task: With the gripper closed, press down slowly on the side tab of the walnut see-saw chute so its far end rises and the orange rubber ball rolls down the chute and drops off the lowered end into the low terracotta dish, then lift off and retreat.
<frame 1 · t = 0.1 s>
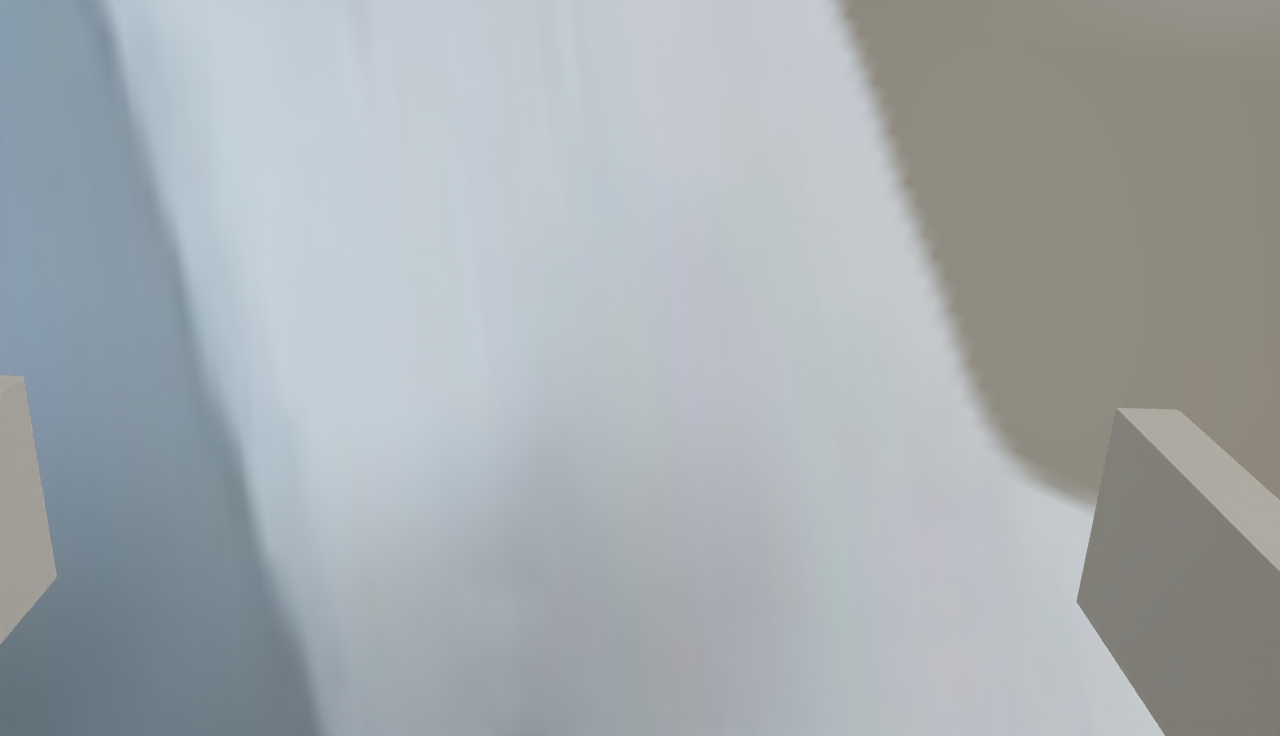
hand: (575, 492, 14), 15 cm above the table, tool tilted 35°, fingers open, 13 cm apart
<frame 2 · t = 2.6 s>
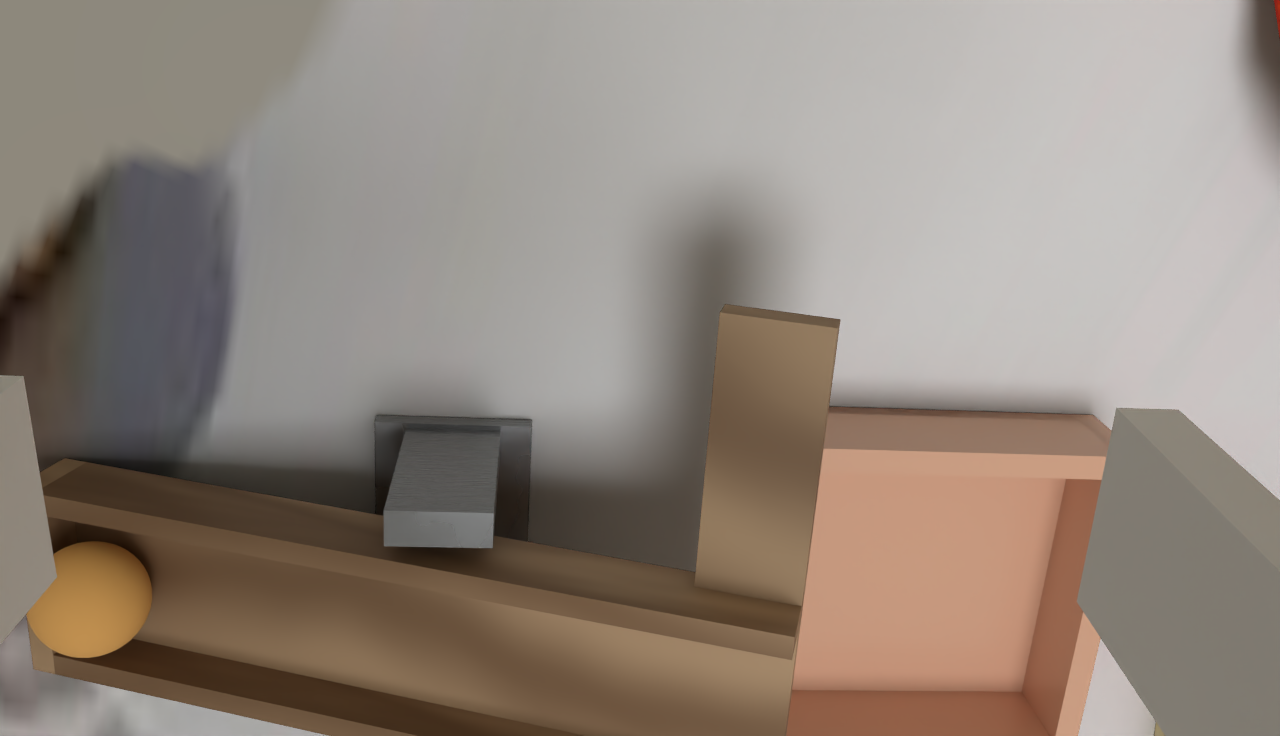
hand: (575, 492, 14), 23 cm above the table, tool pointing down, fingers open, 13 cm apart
lever: (398, 511, 34), point 5 cm above the table, hinge at -18.4°, touching ball
stand: (453, 552, 40), on the table
ball: (90, 598, 36), point 3 cm above the table, tilted 16°, touching lever
dish: (904, 561, 41), on the table
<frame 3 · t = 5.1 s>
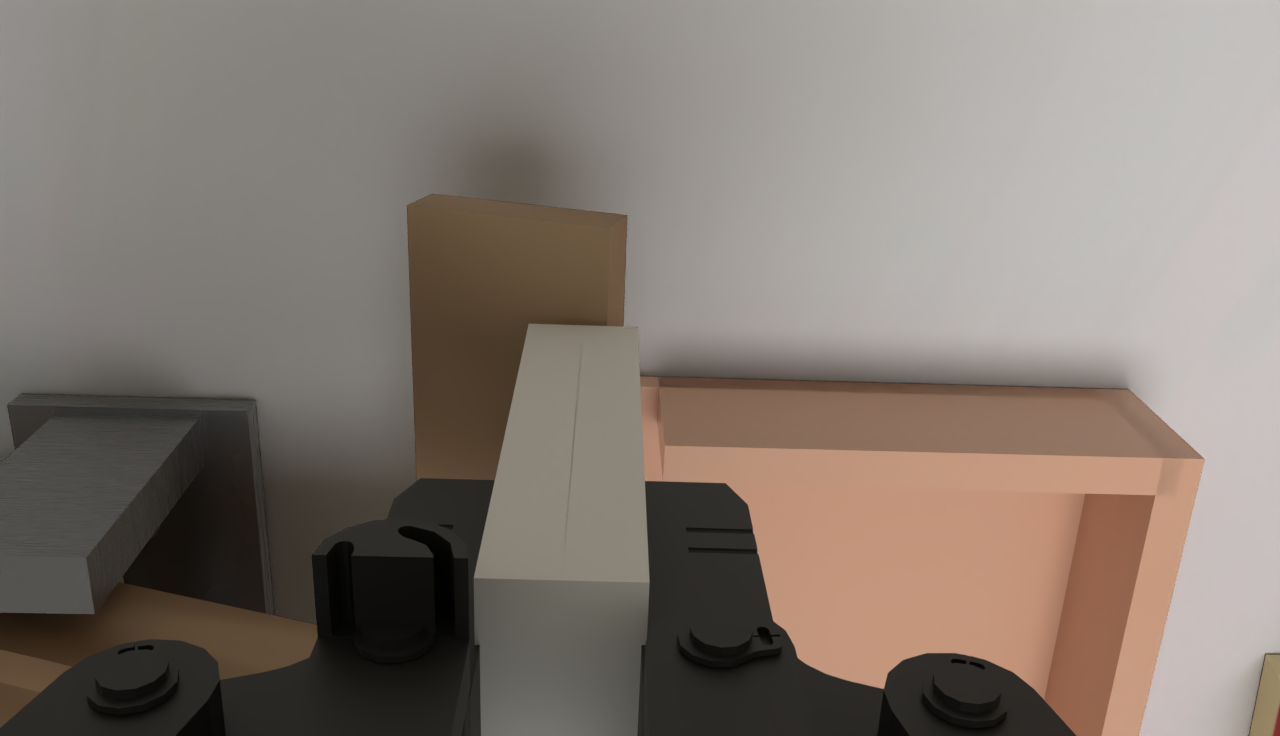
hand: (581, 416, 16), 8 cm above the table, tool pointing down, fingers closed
stand: (164, 595, 27), on the table
dish: (841, 609, 28), on the table
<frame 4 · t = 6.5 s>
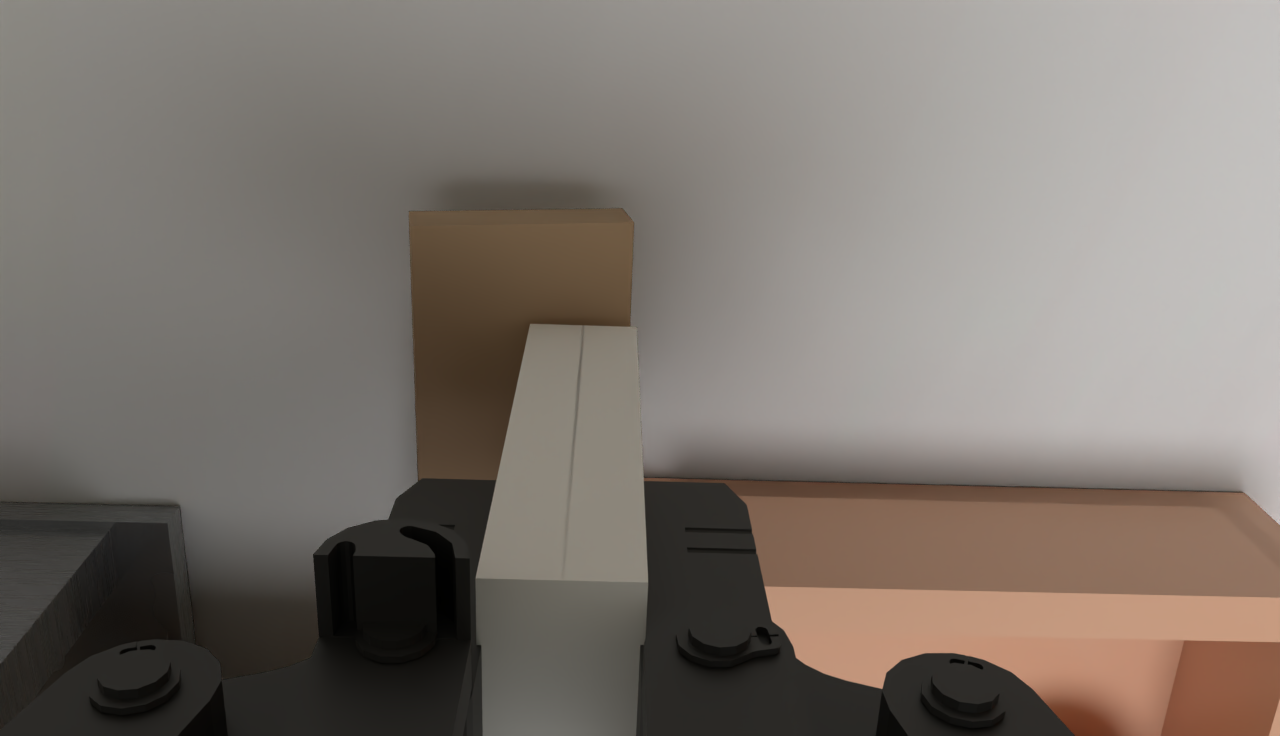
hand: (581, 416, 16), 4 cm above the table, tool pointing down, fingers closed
stand: (75, 733, 22), on the table
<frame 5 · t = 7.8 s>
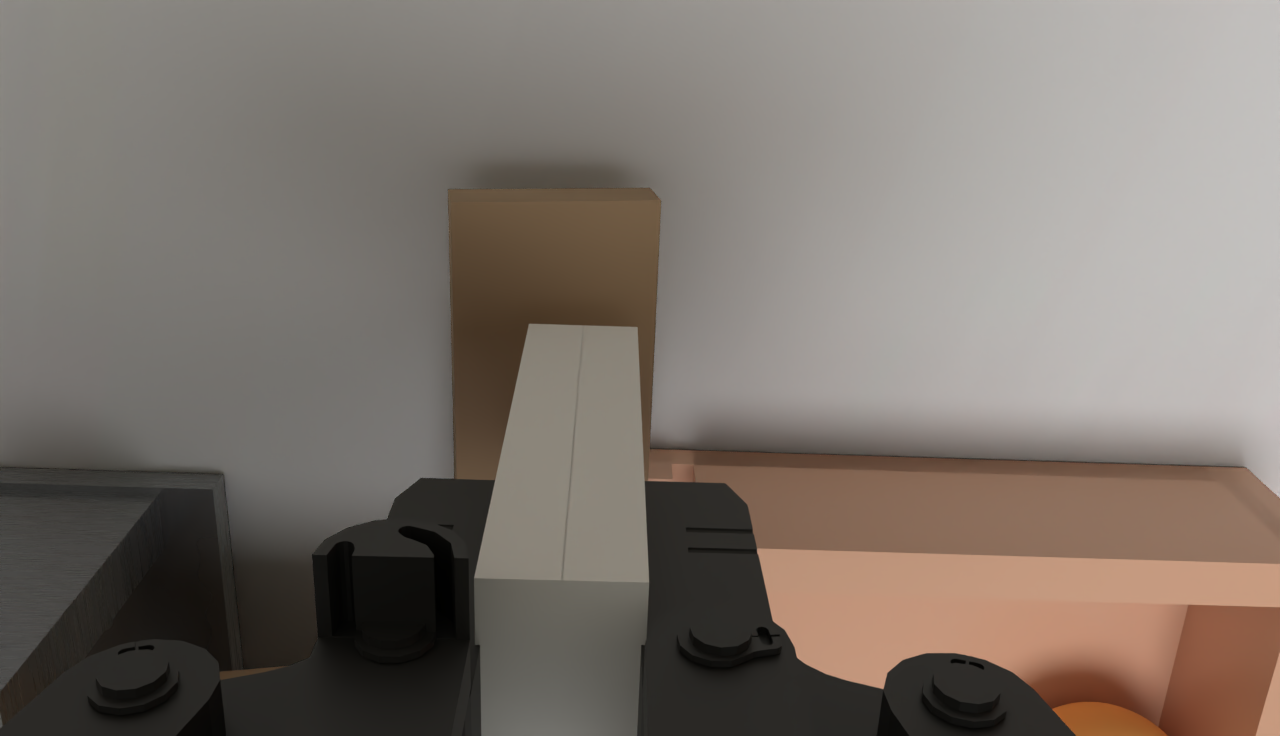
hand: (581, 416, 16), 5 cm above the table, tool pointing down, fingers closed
stand: (121, 692, 23), on the table
dish: (900, 713, 24), on the table
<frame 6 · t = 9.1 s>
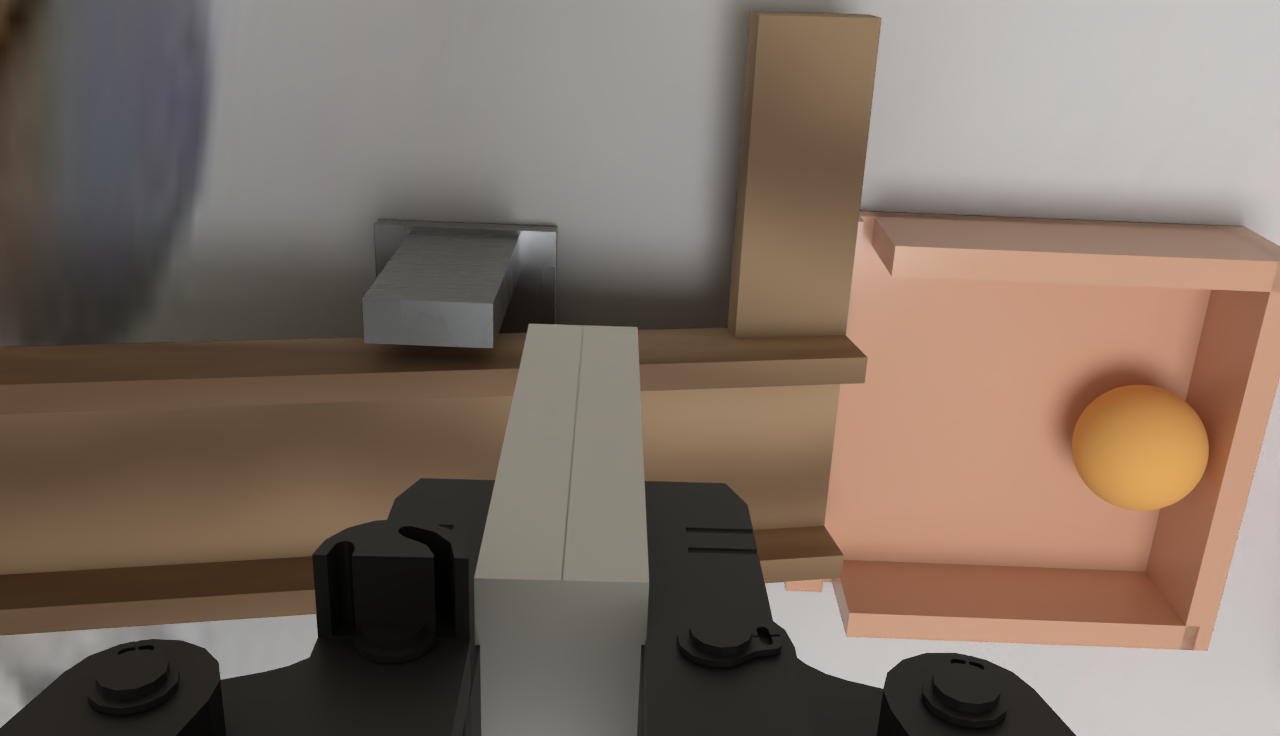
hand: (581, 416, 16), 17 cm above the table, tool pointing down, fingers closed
lever: (380, 322, 28), point 5 cm above the table, hinge at 11.0°
stand: (470, 387, 34), on the table
ball: (1138, 447, 32), point 2 cm above the table, tilted 43°, touching dish
dish: (1003, 408, 35), on the table
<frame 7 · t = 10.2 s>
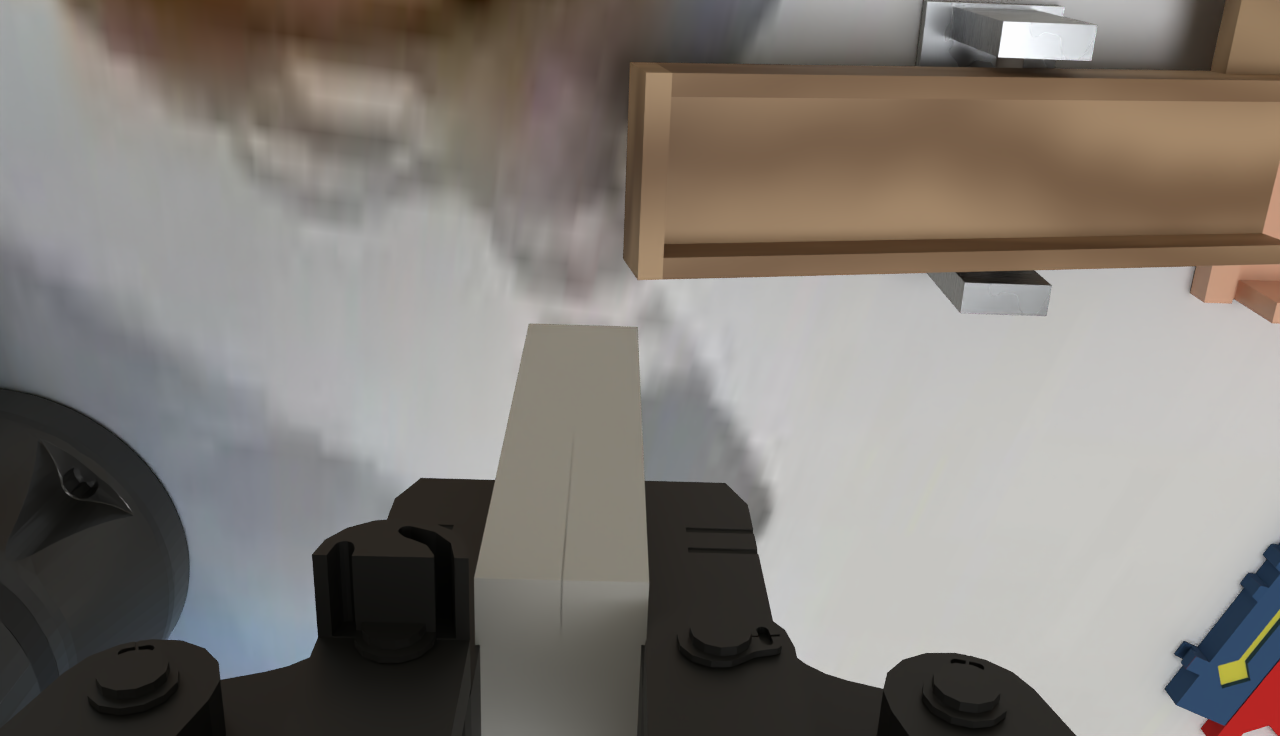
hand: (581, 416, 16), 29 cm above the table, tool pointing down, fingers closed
lever: (991, 50, 38), point 5 cm above the table, hinge at 11.0°
stand: (971, 139, 44), on the table
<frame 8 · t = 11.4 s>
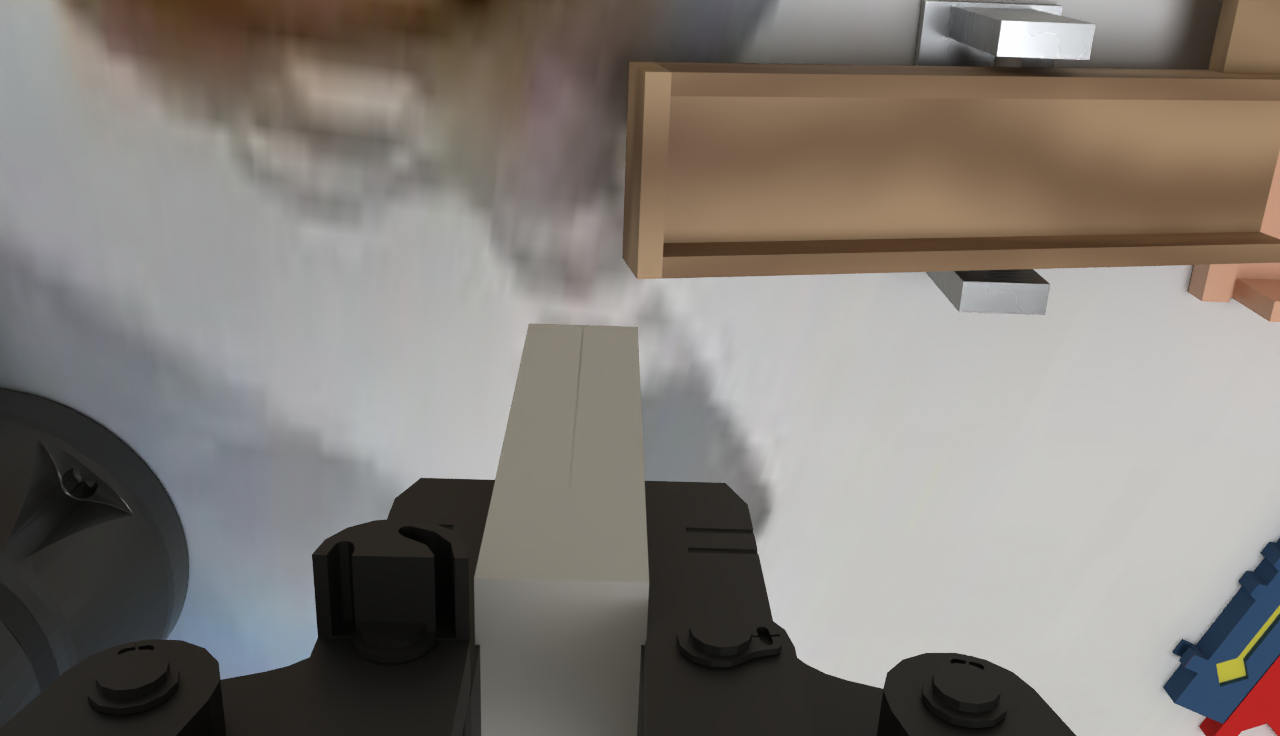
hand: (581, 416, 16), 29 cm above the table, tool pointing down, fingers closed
lever: (989, 49, 38), point 5 cm above the table, hinge at 11.0°
stand: (970, 139, 45), on the table
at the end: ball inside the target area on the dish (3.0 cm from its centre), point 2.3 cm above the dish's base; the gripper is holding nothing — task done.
